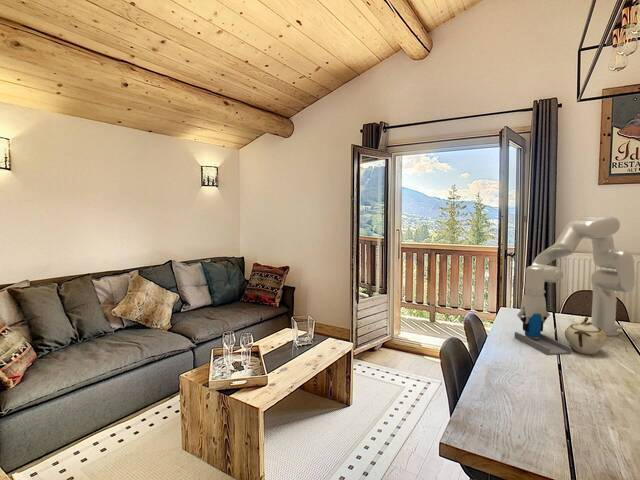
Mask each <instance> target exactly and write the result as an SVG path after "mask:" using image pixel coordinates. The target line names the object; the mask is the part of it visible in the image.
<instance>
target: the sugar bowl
mask: <svg viewBox="0 0 640 480" xmlns="http://www.w3.org/2000/svg"><path fill="white" fill-rule="evenodd" d="M588 320H589V317H588V316H586V317H585V318H584V319H583V321H582V322H578V323H572V324H570V325H569V326H568V327H566V329H565V331H564V337H565V339H566V341H567V343H568V344H569V346H570V347H572V350H574V351H576V352H578V353H581V354H584V355H585V354H586V355H595V354H597V353H598V352H599V351H600V350H601V349H603V348H604V347H605V345H606V344H607V342H608V336H606V334H605V333H604V332H603V331H602V330H601V329H600V328H598V327H596V326H593V325H592V323H591V322H590V321H589V322H588Z"/></svg>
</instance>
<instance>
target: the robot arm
mask: <svg viewBox="0 0 640 480" xmlns="http://www.w3.org/2000/svg"><path fill="white" fill-rule="evenodd" d="M620 227H621V223H620V220H619V219H618V218H617V217H615V216H609V215H607V216H606V215H605V216H604V215H600V216H599V215H589V216H582V217H580V218H579V219H578V220H571V221H569V222H567V223H566V225H565V227H564V228H563V230H562V231H561V233H560V234H559V236H558V238H557V239H556V241H555V242H554V244H552V245H551V246H548V247H547V248H546V249H544V250H543V251H541V252H540V253H539V254H538V255H537V256H536V257H535V258H534V260H533V261H532V263H531V265H529V266H527V267H526V269H525V288H524V290H525V291H524V294H523V296H522V299H521V303H520V310H519V312H518V313H517V314H516V317H518V319H519V320H520V321H521V322H522V330H523V331H524V332H525V331H526V332H529V324H528V321H529V319H530V318H531V317H532V315H533V314H534V313H540V314H541V332H543V331H544V323H545V322H546V320H547V319H548V318H549V317H550V315H551V314H550V313H549V312H548V311H547V302H546V297H545V294H546V290H545V283H558V282H561V280H562V279H563V277H564V272H563V270H562V269H561V268H560V267H557V266H555V265H554V266H553V265H549V264H550V263H551V262H553V261H554V260H557V259H561V258H564V257H565V258H566V257H568V256H570V255H573V254H574V253H575V251H576V249H577V248H578V246H579V244H580V243H581V241H582V240H583V239H586V240H587V239H588V240H591V244H592V257H593V263H594V265H596V266H597V267H599V268H600V269H597V270H595V271H593V272H592V274H591V276H590V281H591V286H592V287H591V288H592V304H591V322H590V323H592V325H593V326H596V327H598V328H600V329H601V330H602V331H603V332H604V333H605V334H606V336H607V337H609V336H610V337H617V336H618V335H619V331H618V330H620V329H624V325H623V324H616V314H617V301H618V300H617V296H616V294H615V292H620V293H630V292H632V291H633V290H634V288H635V286H636V275H635V274H636V272H635V271H636V270H635V269H636V268H635V259H634V256H633V255H632V253H631V252H629V251H628V250H626V249H625V250H624V249H616V248H615V241H614V237H613V235H615V234H616V233H618V231H619V229H620ZM601 268H603V269H601ZM610 269H611V270H610Z"/></svg>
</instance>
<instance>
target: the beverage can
mask: <svg viewBox="0 0 640 480" xmlns="http://www.w3.org/2000/svg"><path fill="white" fill-rule="evenodd" d="M528 324H529V332H526V331H524V336H527V337H528V338H532V339H538V338H539V337H541V334H542V333H541V332H542V331H541V314H540V313H534V314H533V315H532V317H531V318H530V319H529V321H528Z"/></svg>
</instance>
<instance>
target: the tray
mask: <svg viewBox="0 0 640 480" xmlns="http://www.w3.org/2000/svg"><path fill="white" fill-rule="evenodd" d="M514 339H515V340H516V339H517V340H518V341H520V342H522V343H523V344H526V345H527V346H529V347H532V348H533V349H534V350H537V351H539V352H541V353H543V354H544V355H546V356H555V355H557V356H558V355H572V351H573V347H572V346H570V345H568V344H564V343H562V342H561V341H558V340H556V339H554V338H551V337H549V336H547V335H545V334H543V333H541V337H539V338H538V339H532V338H528V337H527V336H526V335H525V334H524V335H523V334H521V333H520V332H518V331H514Z"/></svg>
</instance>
